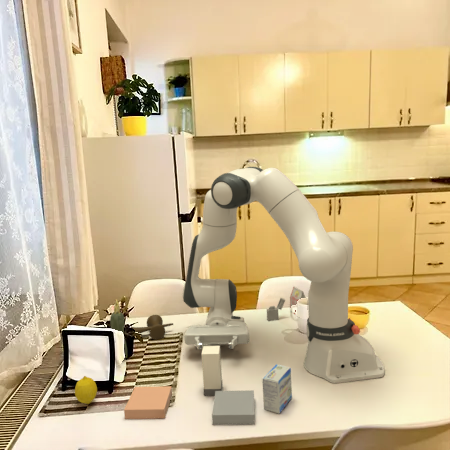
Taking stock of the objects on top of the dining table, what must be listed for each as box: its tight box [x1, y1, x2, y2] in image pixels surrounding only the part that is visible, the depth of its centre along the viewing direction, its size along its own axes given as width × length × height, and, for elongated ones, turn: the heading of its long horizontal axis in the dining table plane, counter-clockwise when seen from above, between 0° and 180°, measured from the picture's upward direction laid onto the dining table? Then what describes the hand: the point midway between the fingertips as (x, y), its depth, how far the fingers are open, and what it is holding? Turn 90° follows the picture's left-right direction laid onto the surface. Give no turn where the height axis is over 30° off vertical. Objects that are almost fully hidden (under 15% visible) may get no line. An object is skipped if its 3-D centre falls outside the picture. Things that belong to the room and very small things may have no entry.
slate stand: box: [211, 389, 256, 426], centre depth 103 cm, size 10×10×2 cm
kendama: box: [131, 314, 174, 341], centre depth 148 cm, size 6×10×20 cm
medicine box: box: [261, 363, 293, 415], centre depth 105 cm, size 8×4×9 cm, turn 148°
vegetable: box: [109, 298, 128, 357], centre depth 130 cm, size 4×4×20 cm
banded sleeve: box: [201, 345, 224, 397], centre depth 111 cm, size 5×5×12 cm
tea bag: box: [289, 286, 307, 312], centre depth 161 cm, size 4×7×10 cm, turn 21°
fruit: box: [74, 375, 98, 405], centre depth 109 cm, size 6×6×8 cm
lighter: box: [266, 297, 286, 322], centre depth 157 cm, size 7×2×8 cm, turn 105°
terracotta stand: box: [123, 385, 173, 420], centre depth 107 cm, size 10×10×2 cm
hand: (215, 346), depth 123 cm, fingers open, 8 cm apart
